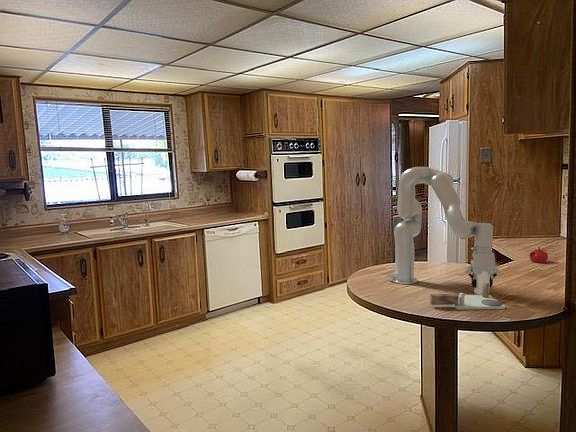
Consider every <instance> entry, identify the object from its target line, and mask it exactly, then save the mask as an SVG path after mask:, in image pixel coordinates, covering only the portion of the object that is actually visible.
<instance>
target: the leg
mask: <svg viewBox="0 0 576 432" xmlns="http://www.w3.org/2000/svg"><path fill="white" fill-rule="evenodd" d="M459 295H460V294H458V293H430V295H429V297H430V298H429V299H430V301H429V303H430V305H432V306H436V305H437V306H440V305H441V306H448V305H451V306H453V305H458V304H459Z"/></svg>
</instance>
